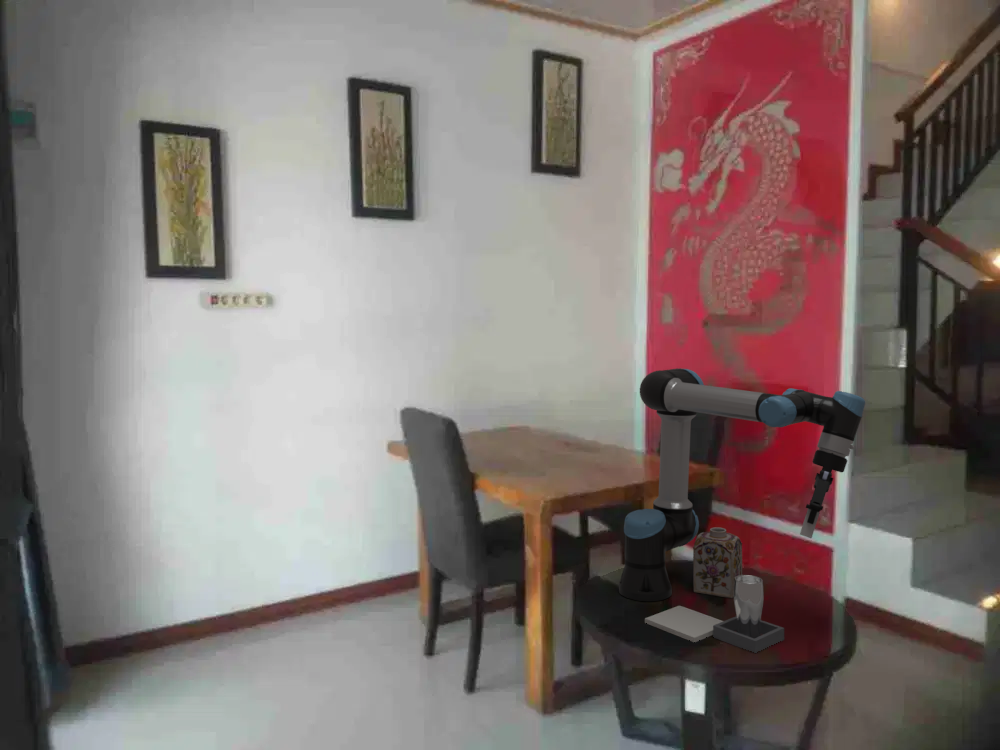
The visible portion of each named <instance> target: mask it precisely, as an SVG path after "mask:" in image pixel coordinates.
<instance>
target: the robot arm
mask: <svg viewBox="0 0 1000 750" xmlns="http://www.w3.org/2000/svg"><path fill="white" fill-rule="evenodd" d="M639 396H640V398H641V401H642V402H643V405H644V404H645V406H646V408H647V407H648V408H649V409H651V410H653V411H656V415H658V417H659V418H660V419H661V421H660V447H659V448H660V449H659V450H660V451H659V452H660V453H659V474H658V479H659V481H658V496H657V497H656V498H655V499H654V500H653V502H652V503H653V505H652V506H653V507H652V508H643V509H637V510H633V511H631V512H629V513H627V515H626V516H625V518H624V525H623V533H624V536H623V538H624V567H623V570H622V573H621V576H620V580H619V582H618V592H619V594H620V596H622V597H624V598H625V599H626V598H627V599H631V600H634V601H640V602H658V601H663V600H667V599H669V598H670V597H671V596H672V592H673V591H672V590H673V589H672V588H673V586H672V583H671V581H670V579H669V575H668V571H667V568H666V552H669V551H671V550H674V549H676V548H680V547H683V546H685V545H687V544H689V543H691V541H693V540H694V539H696V537H697V536H698V532H699V528H700V524H699V523H700V521H699V517H698V515H697V514H696V512H695V510H694V509H693V503H692V502H691V501H690V499H688V497H689V495H688V494H689V473H690V451H691V450H690V448H691V430H692V429H691V425H692V424H691V423H692V419H694V418H695V417H696V416H697V413H700V414H707V415H713V416H719V417H725V418H730V419H731V418H732V419H737V420H738V419H739V420H743V421H744V420H745V421H751V422H758V423H763V424H765V426H768V427H771V428H784V427H787V426H791V425H795V424H799V423H804V422H806V423H809V424H810V423H811V424H814V425H818V426H821V427H822V426H823V428H822V431H821V433H820V435H819V436H820V437H819V439H818V443H817V446H816V447H817V448H818V449H816V450H815V453H814V455H813V459H812V464H814V465H817V466H820V467H821V468H822V469H821V470H820V471H819V472H816V475H815V478H814V481H815V482H814V485H813V489H814V491H813V495H812V497H811V499H810V502H809V504H808V503H806V506H805V509H807V512H806V514H805V517H804V520H803V523H802V526H801V529H800V532H799V535H800V536H804V537H806V538H809V539H812V538H813V535H814V532H815V529H816V526H817V522H818V519H819V517H820V512H821V511H823V509H824V506H823V503H824V500H825V497H826V493H828V492H829V491H830V487H831V485H832V484H833V481H834V477H832V476H833V474H832V473H833V471H834V472H838V473H843V472H845V471H846V470H845V469H846V466H847V463H848V459H847V458H846V457H849V456H850V453H851V450H854V449H855V445H852V444H853V443H854V441H855V438H856V435H857V432H858V429H859V427H860V424H861V421H862V418H863V414H864V409H865V406H866V400H865V399H864V398H863V397H861V396H859V395H857V394H853V393H851V392H848V391H841V390H837V391H835V392H834V394H833V395H832V397H831V396H827V395H826V396H825V395H822V394H817V393H813V392H810V391H805V390H804V389H797V388H790V387H789V388H788V389H786V390H785V391H783V393H782V394H777V393H776V394H775V393H766V392H760V391H752V390H751V391H749V390H744V389H736V388H729V387H721V386H712V385H706V384H704V381H703V380H702V378H701V377H700V376H699V375H698V374H697V372H695V371H693V370H691V369H688V368H680V367H679V368H678V367H677V368H672V369H663V370H655V371H652V372H650V373H648V374H647V375H646V376H644V378H643V379H642V381H641V382H640V386H639Z"/></svg>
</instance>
